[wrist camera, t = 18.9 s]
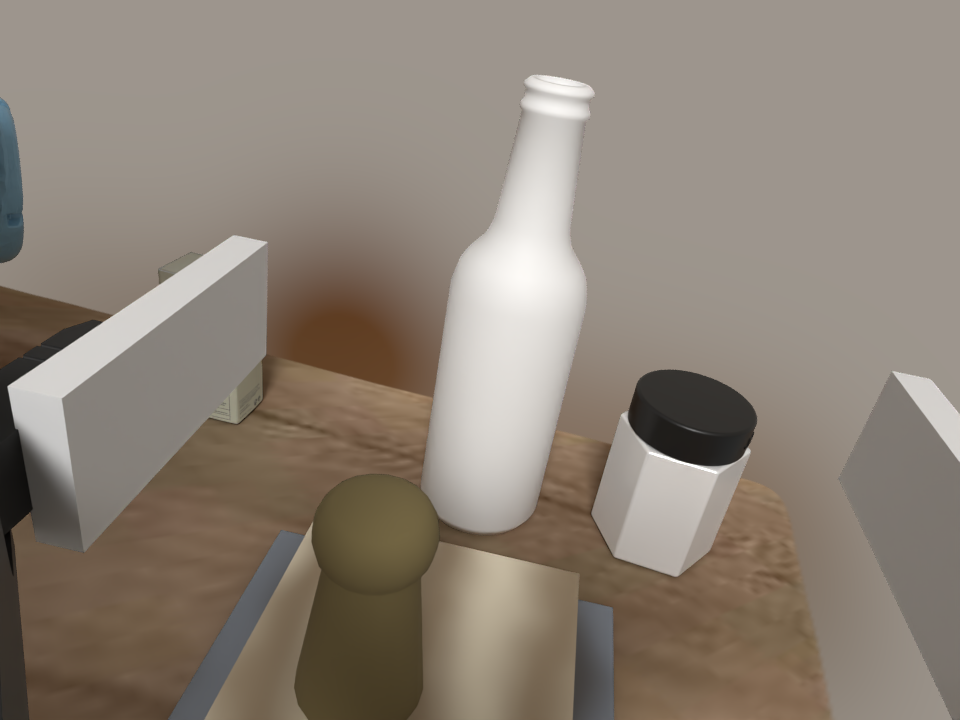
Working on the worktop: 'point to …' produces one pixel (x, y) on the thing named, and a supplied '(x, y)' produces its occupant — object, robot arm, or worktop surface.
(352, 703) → the cork
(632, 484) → the jar
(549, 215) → the alcohol
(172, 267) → the skincare box
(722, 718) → the worktop surface
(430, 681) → the plinth
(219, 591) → the worktop surface
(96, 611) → the worktop surface
